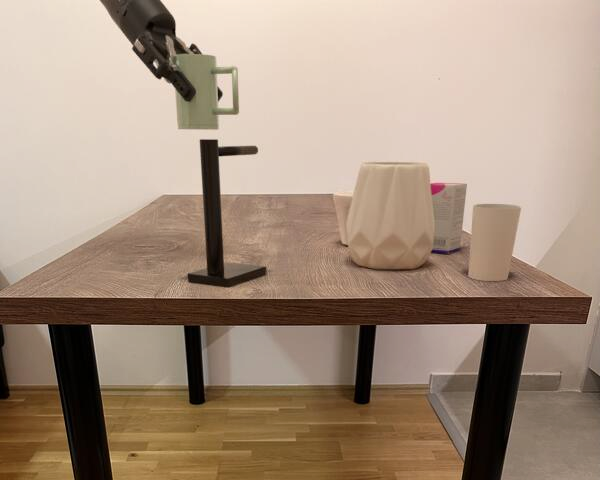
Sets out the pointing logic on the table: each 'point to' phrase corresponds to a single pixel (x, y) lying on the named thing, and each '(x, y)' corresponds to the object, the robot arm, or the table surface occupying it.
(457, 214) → the supplement box
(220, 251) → the mug rack
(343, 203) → the cup
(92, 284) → the table surface
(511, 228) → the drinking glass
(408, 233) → the vase
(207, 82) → the mug
